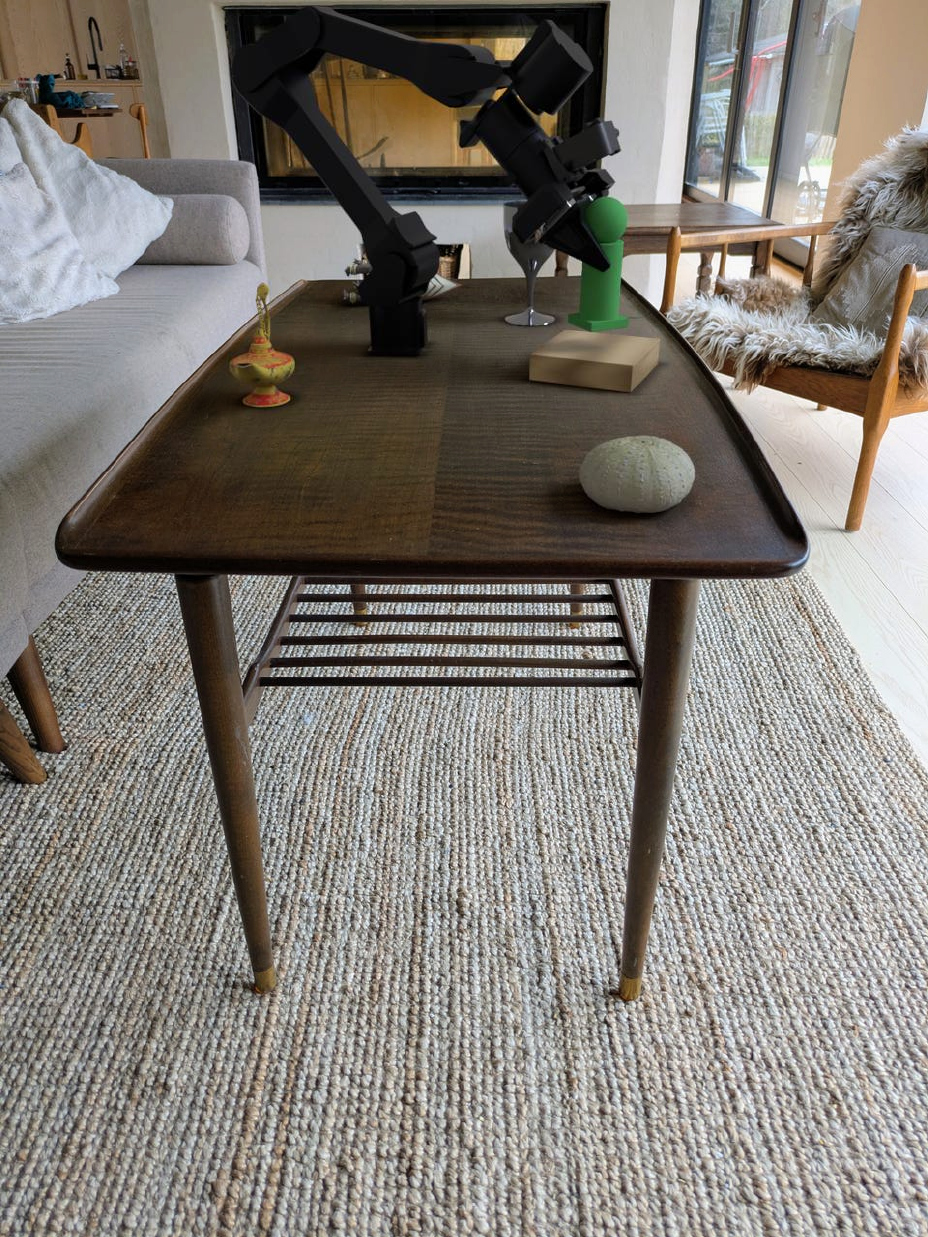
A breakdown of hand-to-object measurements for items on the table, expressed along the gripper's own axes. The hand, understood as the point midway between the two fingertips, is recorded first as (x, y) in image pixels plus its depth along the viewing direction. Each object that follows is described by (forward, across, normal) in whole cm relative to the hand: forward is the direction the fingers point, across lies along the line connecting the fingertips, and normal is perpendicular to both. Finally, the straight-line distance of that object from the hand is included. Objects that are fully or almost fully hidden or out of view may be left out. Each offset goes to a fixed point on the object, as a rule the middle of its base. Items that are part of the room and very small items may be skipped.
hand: (613, 265), depth 99 cm
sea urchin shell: (+18, -33, 0) cm, 38 cm away
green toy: (+4, 0, +6) cm, 7 cm away
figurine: (-20, +25, +37) cm, 49 cm away
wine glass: (-4, +21, +21) cm, 30 cm away
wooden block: (+8, 0, +9) cm, 12 cm away
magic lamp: (-13, -25, +30) cm, 41 cm away
